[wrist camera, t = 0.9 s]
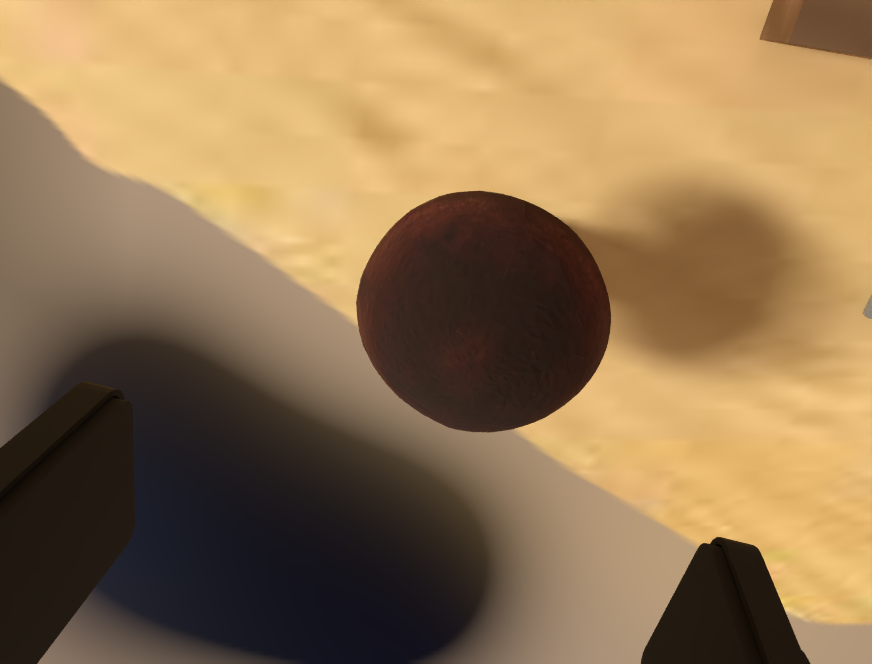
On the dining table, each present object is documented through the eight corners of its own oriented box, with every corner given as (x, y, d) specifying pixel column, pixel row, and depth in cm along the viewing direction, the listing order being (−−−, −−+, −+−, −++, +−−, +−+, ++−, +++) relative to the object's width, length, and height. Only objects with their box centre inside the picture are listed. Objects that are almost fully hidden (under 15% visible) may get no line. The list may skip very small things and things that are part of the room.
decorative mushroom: (379, 291, 40) (301, 431, 27) (434, 114, 35) (373, 178, 22) (546, 351, 40) (552, 519, 27) (625, 184, 35) (680, 289, 22)
